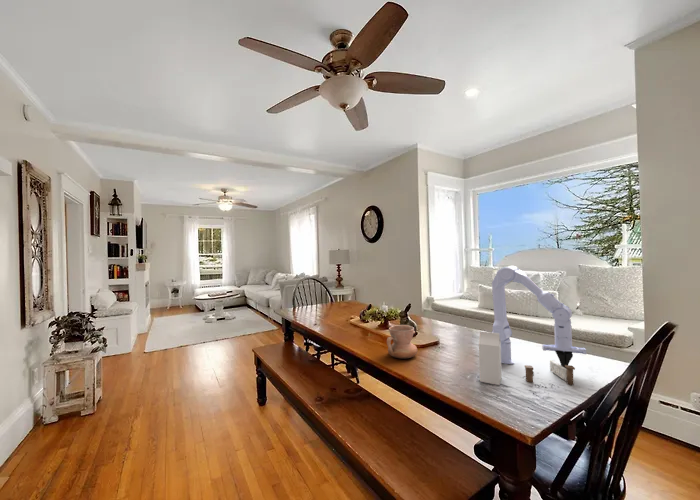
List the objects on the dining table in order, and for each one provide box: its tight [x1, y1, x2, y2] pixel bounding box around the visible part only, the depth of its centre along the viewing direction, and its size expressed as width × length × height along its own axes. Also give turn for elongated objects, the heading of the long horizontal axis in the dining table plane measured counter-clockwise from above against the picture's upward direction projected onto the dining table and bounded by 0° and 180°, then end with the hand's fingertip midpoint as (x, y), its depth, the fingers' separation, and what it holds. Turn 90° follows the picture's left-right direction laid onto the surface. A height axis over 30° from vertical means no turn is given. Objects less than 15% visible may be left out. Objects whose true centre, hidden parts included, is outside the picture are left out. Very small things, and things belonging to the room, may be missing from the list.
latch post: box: [524, 364, 535, 383], centre depth 117 cm, size 2×2×6 cm
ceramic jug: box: [386, 324, 418, 360], centre depth 149 cm, size 18×14×14 cm
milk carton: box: [478, 331, 503, 386], centre depth 119 cm, size 7×7×19 cm
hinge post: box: [565, 364, 576, 386], centre depth 113 cm, size 2×2×7 cm
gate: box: [549, 360, 567, 382], centre depth 120 cm, size 10×1×4 cm, turn 175°
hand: (564, 369), depth 122 cm, fingers closed
